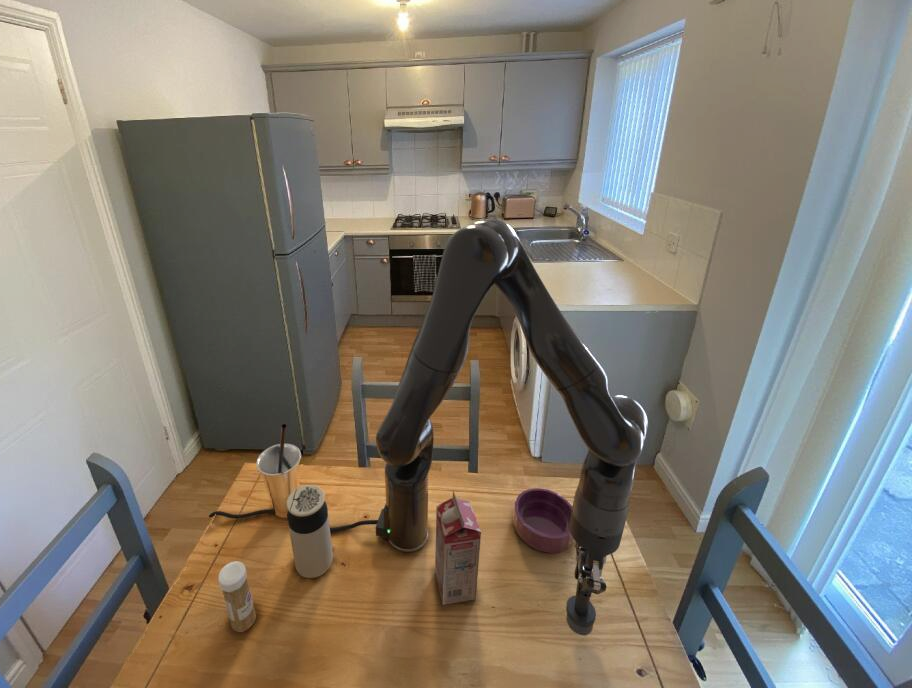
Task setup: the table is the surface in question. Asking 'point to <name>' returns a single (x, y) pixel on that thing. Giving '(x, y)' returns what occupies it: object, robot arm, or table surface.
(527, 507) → the bowl
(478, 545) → the juice carton
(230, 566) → the sprinkles bottle
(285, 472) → the metal cup with straw
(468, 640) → the table surface
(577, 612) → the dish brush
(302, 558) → the travel mug
